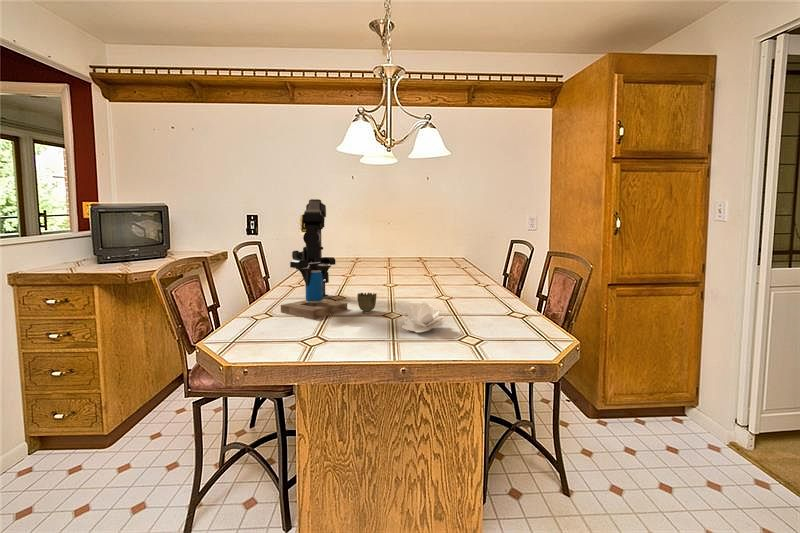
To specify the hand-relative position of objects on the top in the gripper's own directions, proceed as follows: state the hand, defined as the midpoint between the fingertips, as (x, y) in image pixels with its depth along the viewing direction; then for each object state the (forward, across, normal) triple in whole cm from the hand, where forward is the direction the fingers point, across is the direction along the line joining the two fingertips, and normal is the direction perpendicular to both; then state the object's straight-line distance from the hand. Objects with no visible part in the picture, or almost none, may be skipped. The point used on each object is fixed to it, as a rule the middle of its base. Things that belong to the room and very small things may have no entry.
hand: (314, 284), depth 171 cm
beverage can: (+7, 0, 0) cm, 7 cm away
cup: (+11, -10, +18) cm, 24 cm away
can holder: (+11, 0, 0) cm, 11 cm away
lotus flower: (+11, -4, +48) cm, 49 cm away
